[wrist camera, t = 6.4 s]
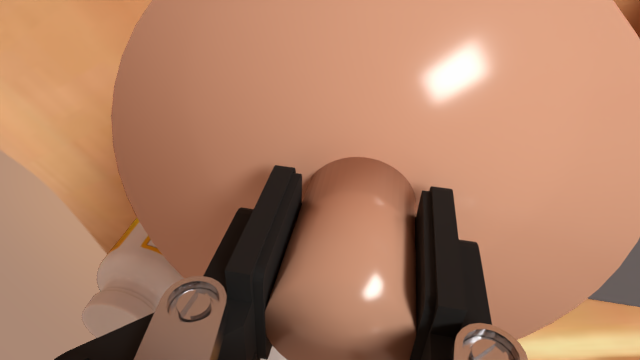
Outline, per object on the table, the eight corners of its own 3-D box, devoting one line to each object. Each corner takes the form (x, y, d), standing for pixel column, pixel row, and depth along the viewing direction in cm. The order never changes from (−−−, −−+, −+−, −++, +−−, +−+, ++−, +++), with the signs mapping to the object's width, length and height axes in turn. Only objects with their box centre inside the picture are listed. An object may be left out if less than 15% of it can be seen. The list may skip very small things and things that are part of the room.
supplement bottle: (172, 234, 41) (89, 356, 31) (150, 174, 38) (47, 289, 27) (240, 236, 40) (177, 365, 29) (223, 175, 36) (145, 297, 26)
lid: (539, 368, 17) (582, 542, 13) (170, 304, 19) (95, 438, 14) (793, -85, 8) (1214, -34, 4) (69, -123, 10) (-198, -118, 6)
